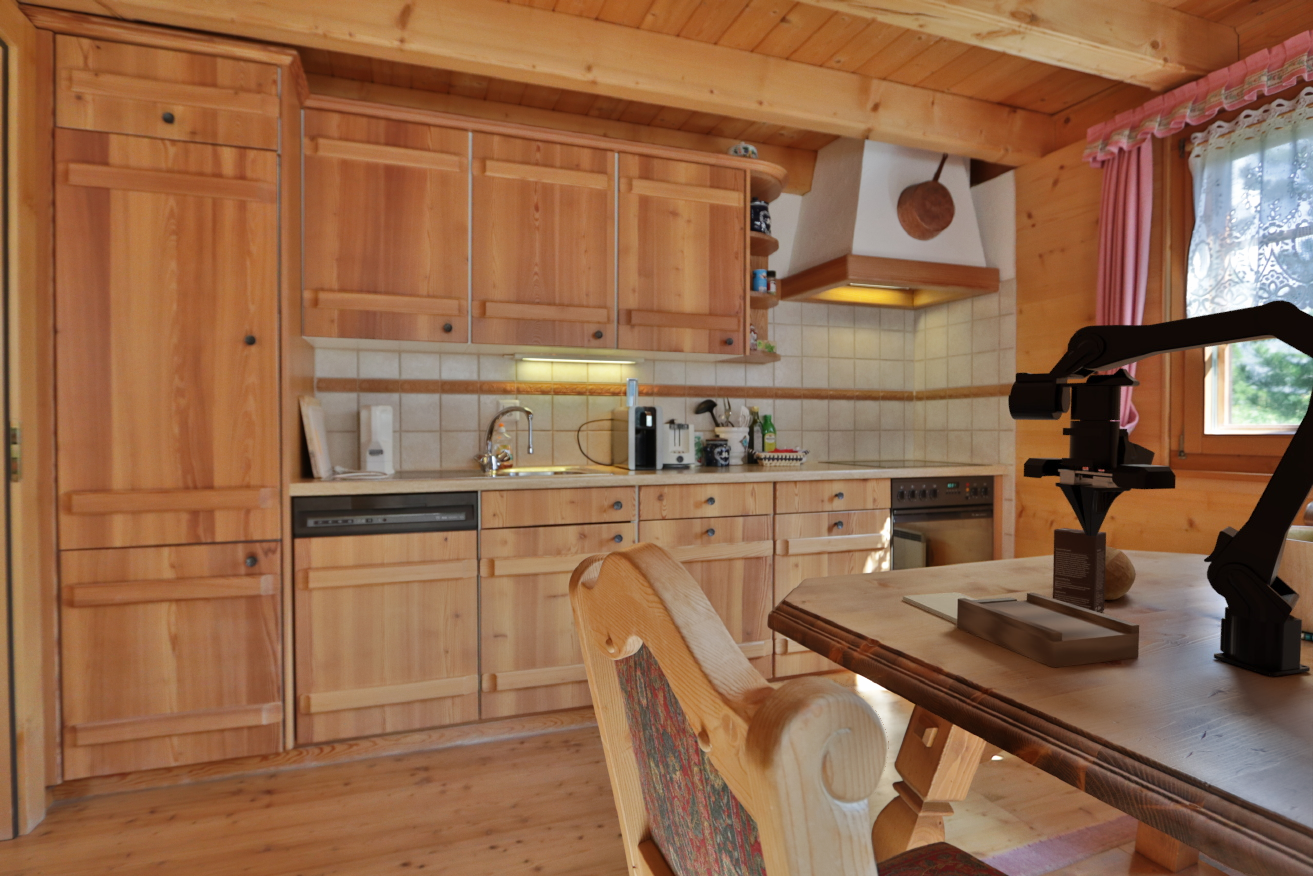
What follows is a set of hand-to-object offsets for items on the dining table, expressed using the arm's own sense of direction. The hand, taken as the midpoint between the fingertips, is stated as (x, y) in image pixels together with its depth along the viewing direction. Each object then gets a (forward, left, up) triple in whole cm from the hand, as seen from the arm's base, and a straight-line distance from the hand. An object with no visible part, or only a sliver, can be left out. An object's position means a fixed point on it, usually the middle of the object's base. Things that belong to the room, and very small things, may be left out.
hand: (1091, 535), depth 96 cm
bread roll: (+16, -20, -13) cm, 29 cm away
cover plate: (+13, +10, -14) cm, 21 cm away
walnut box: (-2, +10, -13) cm, 17 cm away
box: (+9, -8, -13) cm, 18 cm away
